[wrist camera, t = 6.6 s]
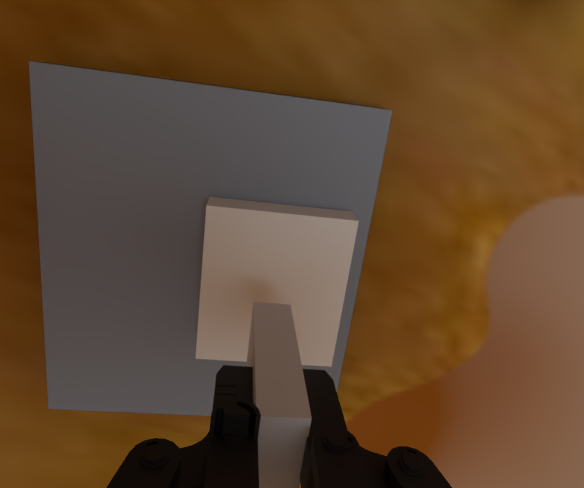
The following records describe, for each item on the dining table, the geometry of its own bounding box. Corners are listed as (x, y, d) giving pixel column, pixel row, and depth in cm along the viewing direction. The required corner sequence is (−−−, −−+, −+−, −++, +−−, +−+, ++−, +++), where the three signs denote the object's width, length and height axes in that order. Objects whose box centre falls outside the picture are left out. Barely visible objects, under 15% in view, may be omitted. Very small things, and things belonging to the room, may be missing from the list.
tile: (206, 205, 20) (358, 220, 21) (209, 195, 22) (350, 210, 23) (195, 358, 23) (331, 366, 24) (198, 339, 25) (326, 348, 25)
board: (43, 62, 21) (28, 61, 19) (383, 108, 23) (392, 110, 21) (59, 391, 27) (48, 408, 25) (327, 404, 29) (331, 421, 27)
